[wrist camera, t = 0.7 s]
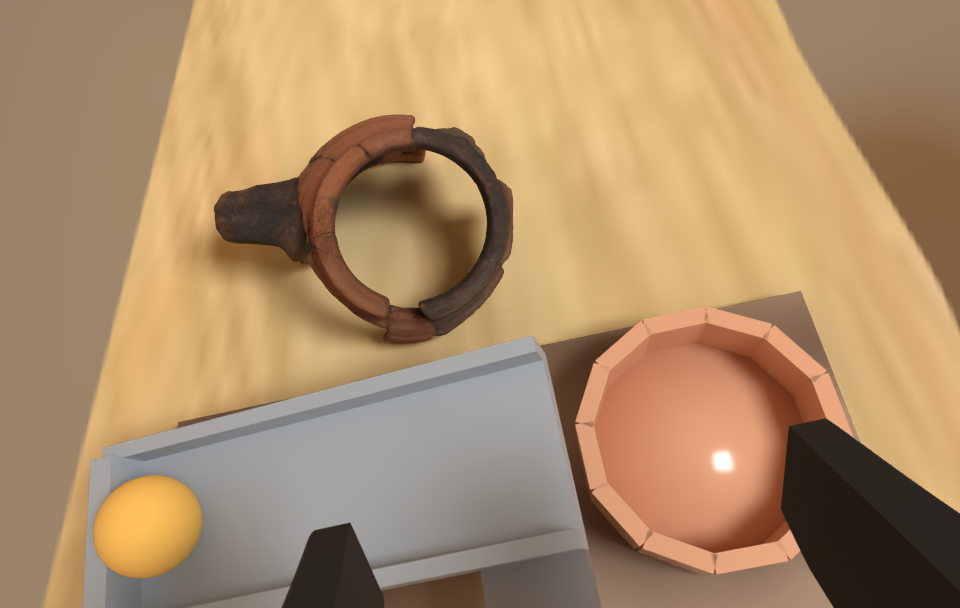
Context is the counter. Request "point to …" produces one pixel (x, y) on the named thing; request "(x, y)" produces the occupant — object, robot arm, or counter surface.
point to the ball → (147, 526)
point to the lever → (371, 488)
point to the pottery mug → (312, 210)
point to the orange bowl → (699, 437)
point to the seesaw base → (617, 566)
